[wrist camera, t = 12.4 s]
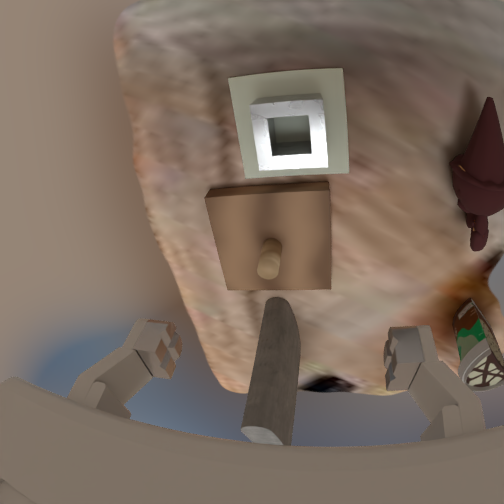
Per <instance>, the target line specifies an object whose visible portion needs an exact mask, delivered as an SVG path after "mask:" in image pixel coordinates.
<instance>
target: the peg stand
mask: <svg viewBox="0 0 504 504" xmlns="http://www.w3.org/2000/svg"><path fill="white" fill-rule="evenodd" d="M205 202H206V207H207V211H208V215H209V219H210V223H211V227H212V231H213V235H214V239H215V243H216V247H217V251H218V255H219V259H220V263H221V267H222V270H223V274H224V278H225V282H226V286H227V290H318V289H331V212H330V189H329V182H314V183H293V184H275V185H260V186H246V187H233V188H221V189H210V190H209V192H208V193H207V195H206V196H205Z"/></svg>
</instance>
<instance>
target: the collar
mask: <svg viewBox="0 0 504 504" xmlns="http://www.w3.org/2000/svg"><path fill="white" fill-rule="evenodd" d="M249 107H250V113H251V119H252V126H253V132H254V138H255V145H256V151H257V158H258V165H259V171H266V170H281V169H299V168H320V167H328V158H327V143H326V129H325V117H324V106H323V98H322V96H321V93H314V94H297V95H284V96H273V97H263V98H257V99H256V100H254V101H253V102H252V103H251V104H250V105H249ZM300 115H309V125H310V135H311V141H295V142H280V143H277V141H276V134H275V126H274V119H273V118H274V117H286V116H300Z"/></svg>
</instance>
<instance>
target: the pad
mask: <svg viewBox="0 0 504 504" xmlns="http://www.w3.org/2000/svg"><path fill="white" fill-rule="evenodd" d="M228 81H229V87H230V93H231V98H232V104H233V110H234V115H235V121H236V127H237V133H238V138H239V144H240V150H241V156H242V161H243V167H244V173H245V179H249V178H262V177H277V176H294V175H314V174H342V173H349V152H348V131H347V115H346V101H345V89H344V78H343V68H326V69H306V70H292V71H281V72H271V73H262V74H254V75H247V76H240V77H233V78H228ZM314 93H321V96H322V98H323V106H324V117H325V129H326V143H327V158H328V167H320V168H299V169H281V170H266V171H259V165H258V158H257V151H256V145H255V138H254V132H253V126H252V119H251V113H250V107H249V105H250V104H251V103H252V102H253V101H254V100H256V99H257V98H263V97H273V96H284V95H297V94H314ZM273 119H274V126H275V134H276V141H277V143H280V142H295V141H311V135H310V125H309V115H300V116H286V117H274V118H273Z"/></svg>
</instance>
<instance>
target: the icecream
mask: <svg viewBox="0 0 504 504" xmlns="http://www.w3.org/2000/svg"><path fill="white" fill-rule="evenodd" d="M449 165H450V166H451V168H452V169H453V171H452V173H453V187H454V190H455V193H456V196H457V197H458V198H459V199H458V204H457V205H458V206H459V207H460V208H461V209H462V210H463V211H465V212H467V217H466V223H467V227H468V228H471V238H470V247H471V249H472V250H473V251H480V250H482V249H483V248H484V247H485V245H486V242H487V238H488V232H489V230H488V219H487V216H490V215H493V214H495V213H497V212H498V211H500V210H502V209H503V208H504V143H503V138H502V133H501V129H500V124H499V120H498V116H497V112H496V108H495V104H494V101H493V98H491V97H487V99H486V101H485V104H484V107H483V110H482V112H481V115H480V118H479V120H478V123H477V125H476V128H475V130H474V132H473V135H472V137H471V140H470V142H469V144H468V146H467V149H466V151H465V153H464V154H460V155H458V156H456V157H455V158H454V160H453V161H451V162H450V163H449Z"/></svg>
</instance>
